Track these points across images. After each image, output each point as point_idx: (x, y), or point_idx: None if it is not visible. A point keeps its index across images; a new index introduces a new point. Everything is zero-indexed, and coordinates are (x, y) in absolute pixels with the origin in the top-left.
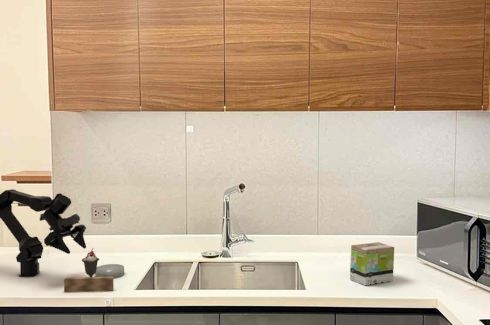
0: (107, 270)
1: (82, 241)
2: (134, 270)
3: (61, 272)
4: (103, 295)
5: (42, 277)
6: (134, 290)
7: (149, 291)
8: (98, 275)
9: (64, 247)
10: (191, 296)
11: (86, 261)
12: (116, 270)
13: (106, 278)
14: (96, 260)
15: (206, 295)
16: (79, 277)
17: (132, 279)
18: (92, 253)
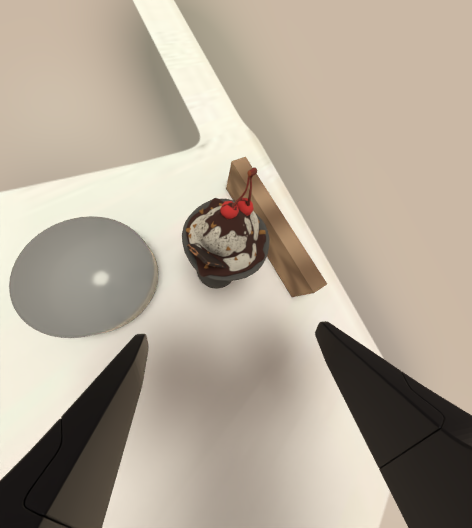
0: (125, 257)
1: (115, 399)
2: (12, 228)
3: (132, 516)
4: (271, 187)
5: (229, 522)
6: (211, 142)
7: (203, 112)
8: (154, 284)
9: (381, 365)
10: (196, 41)
11: (266, 232)
12: (114, 226)
13: None
14: (232, 200)
15: (179, 21)
16: (289, 249)
17: (127, 184)
18: (244, 199)
